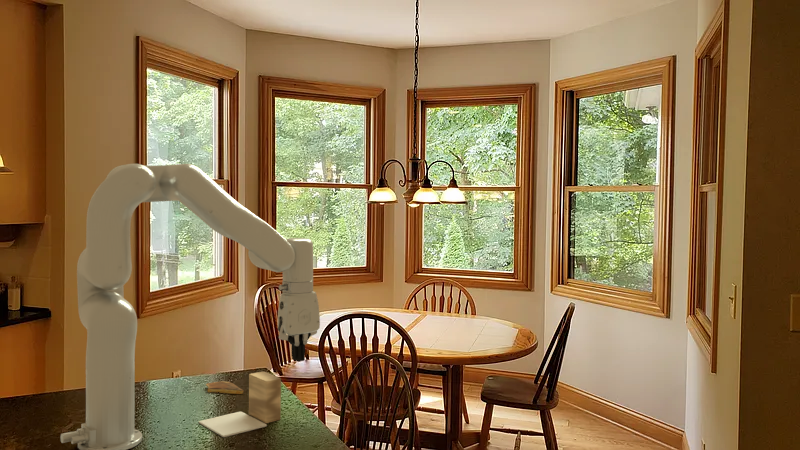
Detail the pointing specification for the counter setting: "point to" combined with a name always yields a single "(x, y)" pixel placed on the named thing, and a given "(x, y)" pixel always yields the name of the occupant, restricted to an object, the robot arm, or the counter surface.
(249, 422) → the plastic mat
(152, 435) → the counter surface
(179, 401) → the counter surface
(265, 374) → the wood block
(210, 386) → the shard
